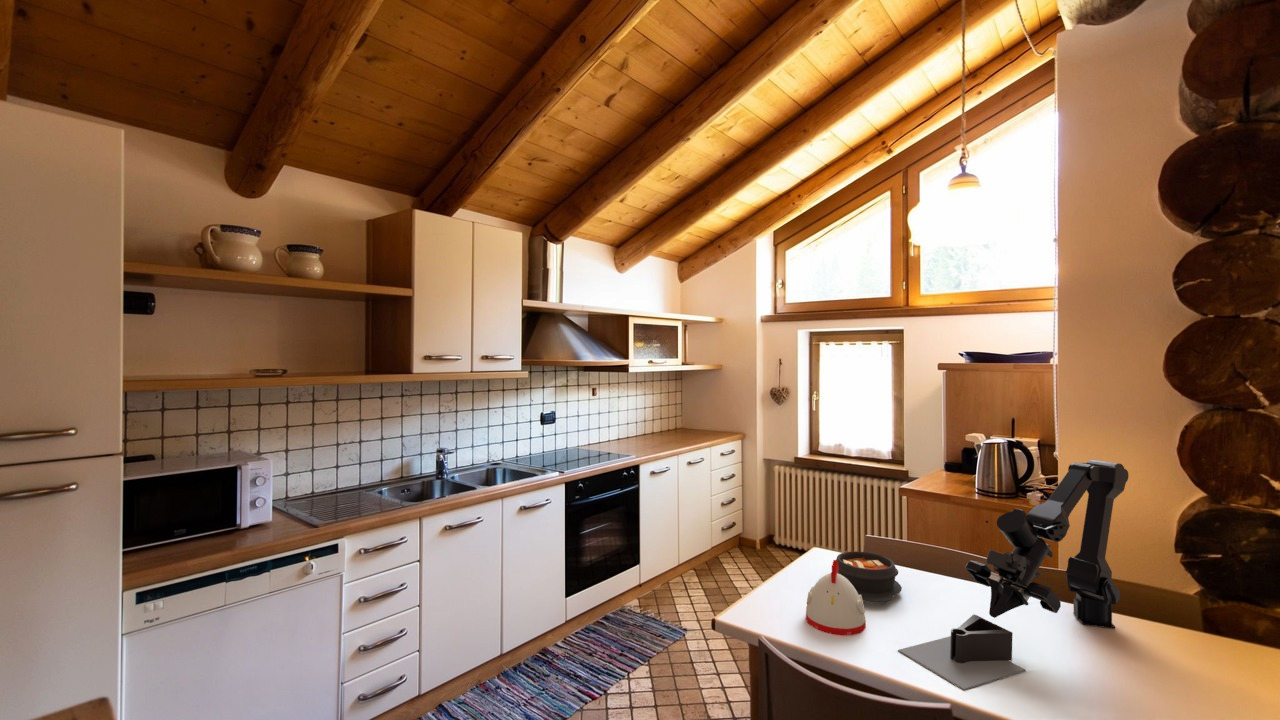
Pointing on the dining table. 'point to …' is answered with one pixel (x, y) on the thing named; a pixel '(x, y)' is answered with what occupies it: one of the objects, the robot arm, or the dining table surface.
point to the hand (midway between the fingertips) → (991, 616)
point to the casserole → (870, 575)
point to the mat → (958, 665)
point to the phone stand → (980, 641)
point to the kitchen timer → (835, 605)
